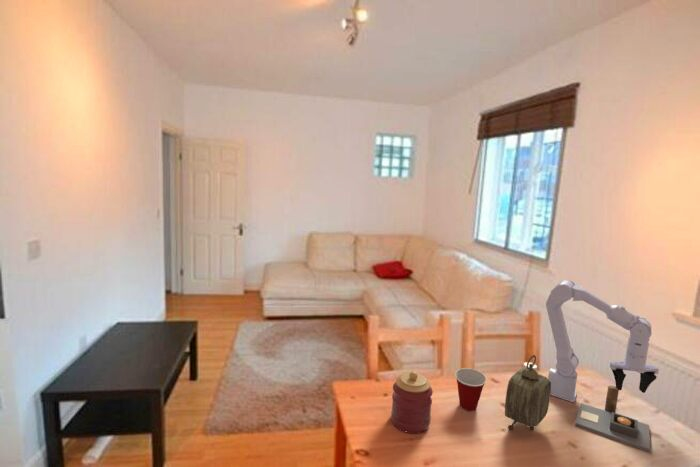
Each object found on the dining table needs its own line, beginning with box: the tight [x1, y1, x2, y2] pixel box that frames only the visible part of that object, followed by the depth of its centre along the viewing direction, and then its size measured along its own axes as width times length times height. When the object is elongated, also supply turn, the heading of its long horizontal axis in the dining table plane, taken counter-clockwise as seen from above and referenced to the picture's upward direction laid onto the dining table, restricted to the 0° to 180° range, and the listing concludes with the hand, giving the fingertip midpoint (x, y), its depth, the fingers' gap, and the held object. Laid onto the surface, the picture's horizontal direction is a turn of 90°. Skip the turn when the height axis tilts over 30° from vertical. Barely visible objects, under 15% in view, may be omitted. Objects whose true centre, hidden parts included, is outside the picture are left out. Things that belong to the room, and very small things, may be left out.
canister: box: [390, 371, 434, 434], centre depth 126 cm, size 13×13×18 cm
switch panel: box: [574, 402, 651, 453], centre depth 129 cm, size 20×15×4 cm
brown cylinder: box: [604, 384, 620, 413], centre depth 137 cm, size 3×3×9 cm
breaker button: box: [617, 417, 631, 427], centre depth 126 cm, size 4×4×1 cm
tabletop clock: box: [504, 354, 551, 431], centre depth 125 cm, size 14×9×25 cm, turn 135°
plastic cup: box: [454, 367, 487, 412], centre depth 136 cm, size 11×11×12 cm
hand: (630, 390), depth 134 cm, fingers open, 7 cm apart
